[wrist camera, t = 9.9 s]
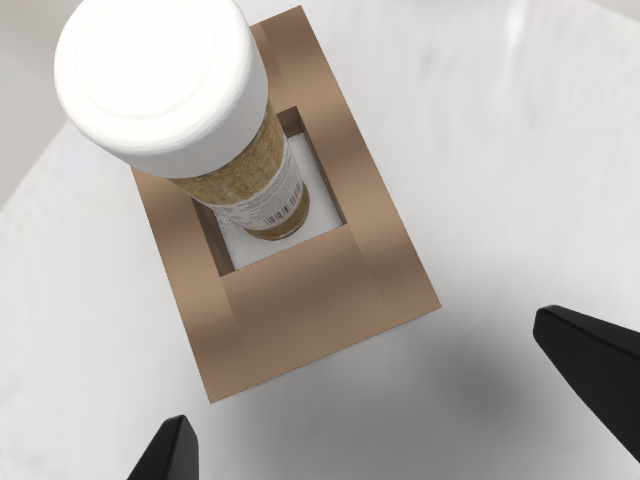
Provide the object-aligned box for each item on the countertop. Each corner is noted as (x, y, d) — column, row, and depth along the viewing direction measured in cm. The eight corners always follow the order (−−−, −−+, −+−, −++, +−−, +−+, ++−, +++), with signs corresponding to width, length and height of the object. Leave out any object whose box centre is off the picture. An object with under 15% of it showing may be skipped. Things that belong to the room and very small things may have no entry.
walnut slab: (426, 304, 19) (441, 307, 16) (230, 386, 19) (210, 404, 16) (306, 43, 22) (300, 4, 19) (136, 115, 22) (104, 88, 19)
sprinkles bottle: (284, 155, 21) (182, -81, 8) (325, 215, 20) (291, 70, 7) (222, 196, 21) (8, 27, 7) (260, 257, 20) (99, 192, 7)
